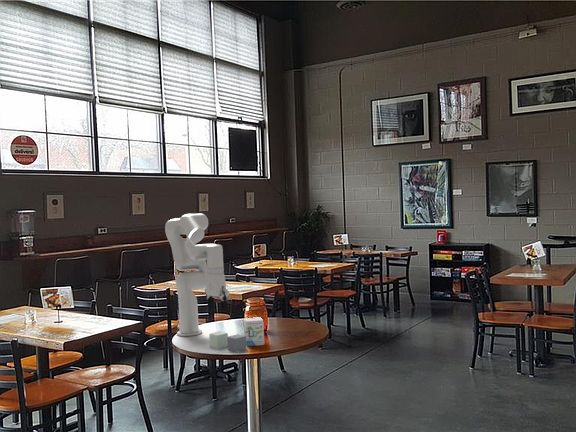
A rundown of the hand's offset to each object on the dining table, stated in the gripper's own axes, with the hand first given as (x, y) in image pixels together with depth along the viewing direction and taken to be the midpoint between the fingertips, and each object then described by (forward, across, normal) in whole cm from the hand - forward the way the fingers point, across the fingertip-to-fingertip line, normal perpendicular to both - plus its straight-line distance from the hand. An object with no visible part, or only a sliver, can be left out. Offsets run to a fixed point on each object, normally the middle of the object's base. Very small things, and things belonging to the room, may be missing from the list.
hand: (217, 308), depth 266 cm
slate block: (+18, +12, +1) cm, 21 cm away
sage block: (+18, 0, 0) cm, 18 cm away
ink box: (+18, +10, +13) cm, 24 cm away
